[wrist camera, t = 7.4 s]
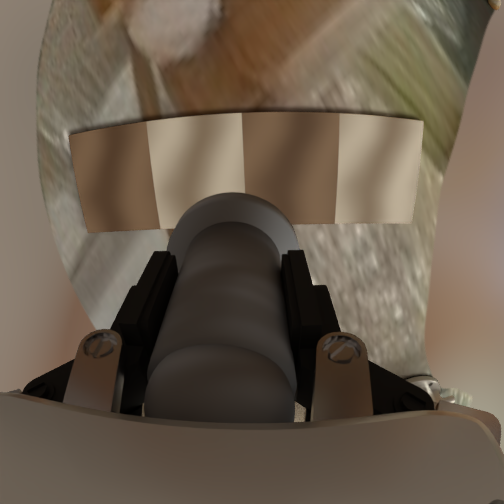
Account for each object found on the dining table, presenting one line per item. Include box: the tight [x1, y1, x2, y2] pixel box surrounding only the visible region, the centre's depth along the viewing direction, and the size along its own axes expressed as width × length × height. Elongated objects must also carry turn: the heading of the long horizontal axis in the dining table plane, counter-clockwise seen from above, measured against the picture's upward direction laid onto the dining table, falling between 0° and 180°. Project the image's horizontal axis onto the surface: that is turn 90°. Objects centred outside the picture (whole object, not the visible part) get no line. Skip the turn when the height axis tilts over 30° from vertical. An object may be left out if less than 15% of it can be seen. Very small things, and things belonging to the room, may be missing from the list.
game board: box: [69, 112, 423, 233], centre depth 27 cm, size 32×10×1 cm, turn 92°
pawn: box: [144, 192, 300, 423], centre depth 10 cm, size 5×5×9 cm
